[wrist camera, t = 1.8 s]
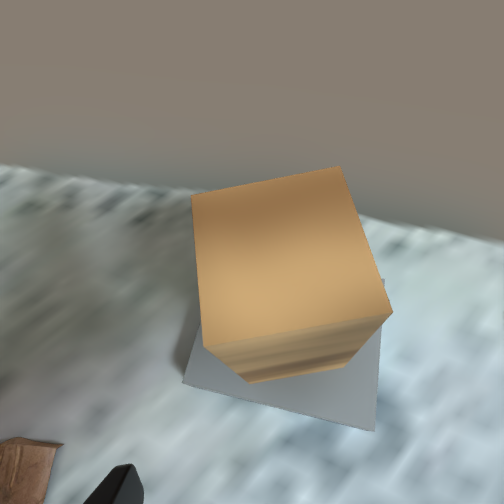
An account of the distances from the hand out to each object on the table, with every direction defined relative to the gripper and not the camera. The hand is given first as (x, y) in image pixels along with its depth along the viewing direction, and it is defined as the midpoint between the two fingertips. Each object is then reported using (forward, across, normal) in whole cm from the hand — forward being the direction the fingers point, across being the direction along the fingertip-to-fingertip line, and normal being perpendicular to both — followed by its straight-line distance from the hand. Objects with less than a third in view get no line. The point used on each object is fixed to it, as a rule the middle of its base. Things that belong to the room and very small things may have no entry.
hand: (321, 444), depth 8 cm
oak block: (+10, 0, +3) cm, 11 cm away
